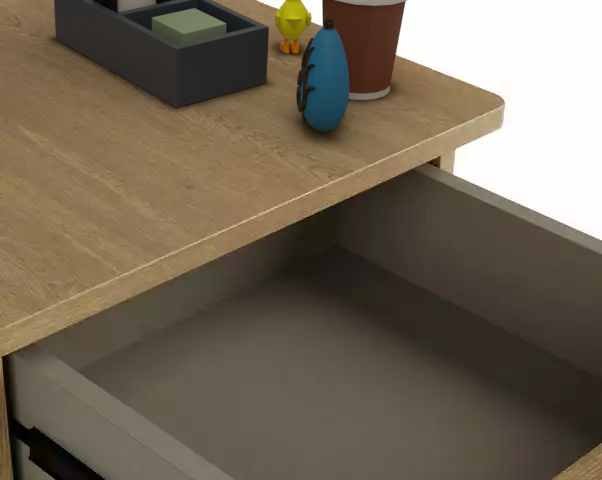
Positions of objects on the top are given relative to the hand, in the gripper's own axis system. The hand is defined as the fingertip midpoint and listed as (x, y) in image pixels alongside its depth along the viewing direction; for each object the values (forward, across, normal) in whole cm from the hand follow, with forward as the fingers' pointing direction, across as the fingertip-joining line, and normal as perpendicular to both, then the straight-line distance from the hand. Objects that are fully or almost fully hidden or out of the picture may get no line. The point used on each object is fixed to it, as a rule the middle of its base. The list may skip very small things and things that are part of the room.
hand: (130, 4), depth 127 cm
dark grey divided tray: (+4, 0, +5) cm, 6 cm away
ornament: (+4, -3, +25) cm, 26 cm away
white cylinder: (+2, 0, 0) cm, 2 cm away
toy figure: (+4, -13, +9) cm, 17 cm away
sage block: (+4, 0, +10) cm, 10 cm away
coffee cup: (+4, -12, +20) cm, 24 cm away
